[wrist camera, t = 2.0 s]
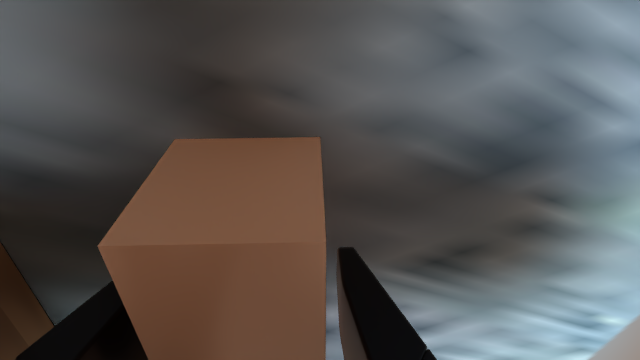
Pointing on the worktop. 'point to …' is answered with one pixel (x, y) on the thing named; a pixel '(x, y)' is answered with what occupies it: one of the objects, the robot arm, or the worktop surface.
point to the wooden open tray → (18, 311)
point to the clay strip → (226, 251)
